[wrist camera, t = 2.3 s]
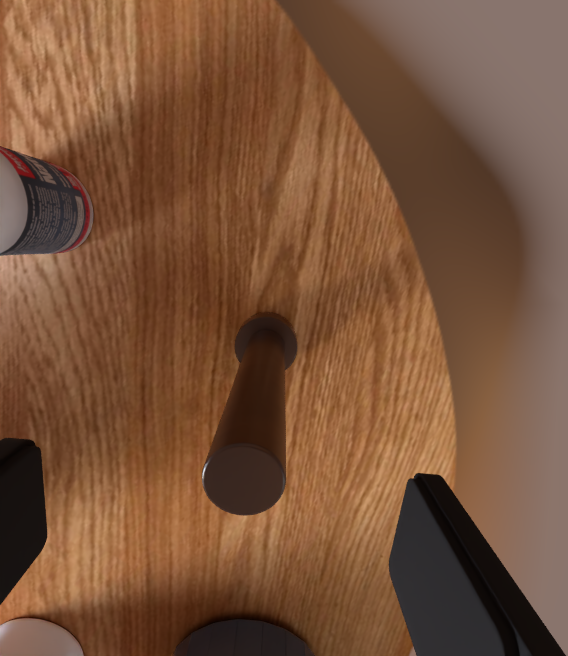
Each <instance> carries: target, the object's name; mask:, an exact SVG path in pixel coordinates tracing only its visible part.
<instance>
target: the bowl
mask: <svg viewBox="0 0 568 656" xmlns="http://www.w3.org/2000/svg"><path fill="white" fill-rule="evenodd" d="M172 656H315V655H314V654H313V652H312V651H311V650H310V648H309V647H308V646H307V644H306V643H305V642H304V641H303V640H301V639H300V638H298V637H297V636H295V635H294V634H293V633H291V632H290V631H288V630H287V629H284V628H281V627H278V626H276V625H273V624H270V623H267V622H263V621H256V620H244V619H235V620H228V621H222V622H216V623H212V624H210V625H208V626H205V627H203V628H201V629H199V630H196V631H194V632H193V633H191V634H190V635H189V636H188V637H187V638H186V639H184V640H183V641H182V642H181V643H180V644H179V645H178V646H177V647H176V649H175V651H174V653H173V655H172Z"/></svg>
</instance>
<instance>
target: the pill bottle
mask: <svg viewBox="0 0 568 656" xmlns="http://www.w3.org/2000/svg"><path fill="white" fill-rule="evenodd" d="M92 225H93V206H92V202H91V199H90V196H89V194H88V192H87V190H86V189H85V187H84V186H83V184H82V183H81V182H80V181H79V180H78V179H77V178H76V177H75V176H74V175H73V174H72V173H70V172H69V171H67V170H66V169H64V168H62V167H60V166H57V165H55V164H52V163H49V162H46V161H43V160H40V159H36V158H33V157H30V156H27V155H24V154H21V153H18V152H16V151H13V150H10V149H6V148H3V147H1V146H0V256H3V255H21V254H55V253H64V252H68V251H71V250H73V249H75V248H77V247H78V246H80V245H81V244H82V243H83V242H84V241H85V240H86V238H87V237H88V235H89V233H90V231H91V228H92Z"/></svg>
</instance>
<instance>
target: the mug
mask: <svg viewBox="0 0 568 656" xmlns="http://www.w3.org/2000/svg"><path fill="white" fill-rule="evenodd" d="M0 656H84V655H83V651H82V648H81V646H80V644H79V643H78V641H77V640H76V639H75V637H74V636H73V635H72V634H70V633H69V632H68V631H67V630H65V629H64V628H62V627H60V626H58V625H56V624H54V623H51V622H49V621H45V620H41V619H34V618H21V619H15V620H11V621H8V622H6V623H3V624H2V625H0Z"/></svg>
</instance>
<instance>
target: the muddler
mask: <svg viewBox="0 0 568 656" xmlns="http://www.w3.org/2000/svg"><path fill="white" fill-rule="evenodd" d="M235 352H236V356H237V358H238V360H239V362H240V366H239V369H238V372H237V374H236V377H235V380H234V383H233V386H232V388H231V391H230V394H229V397H228V400H227V403H226V405H225V408H224V411H223V414H222V417H221V419H220V422H219V425H218V428H217V431H216V434H215V436H214V439H213V442H212V445H211V448H210V450H209V453H208V456H207V459H206V462H205V464H204V468H203V471H202V483H203V487H204V490H205V492H206V494H207V496H208V498H209V499H210V500H211V501H212V502H213V503H214V504H215V505H216V506H217V507H219V508H220V509H222V510H224V511H226V512H229V513H232V514H236V515H254V514H258V513H261V512H263V511H266V510H267V509H269V508H271V507H272V506H273V505H274V504H275V503H276V502H277V501H278V500H279V498H280V497H281V495H282V494H283V491H284V489H285V485H286V421H285V370H286V369H287V368H289V367H290V365H291V364H292V363H293V361H294V359H295V357H296V353H297V339H296V334H295V331H294V329H293V327H292V325H291V324H290V323H289V322H288V320H286V319H285V318H284V317H282V316H280V315H278V314H275V313H270V312H264V313H258V314H256V315H253V316H251V317H250V318H248V319H247V320H246V321H245V322H244V323H243V325H242V326H241V328H240V330H239V332H238V334H237V337H236V340H235Z"/></svg>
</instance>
